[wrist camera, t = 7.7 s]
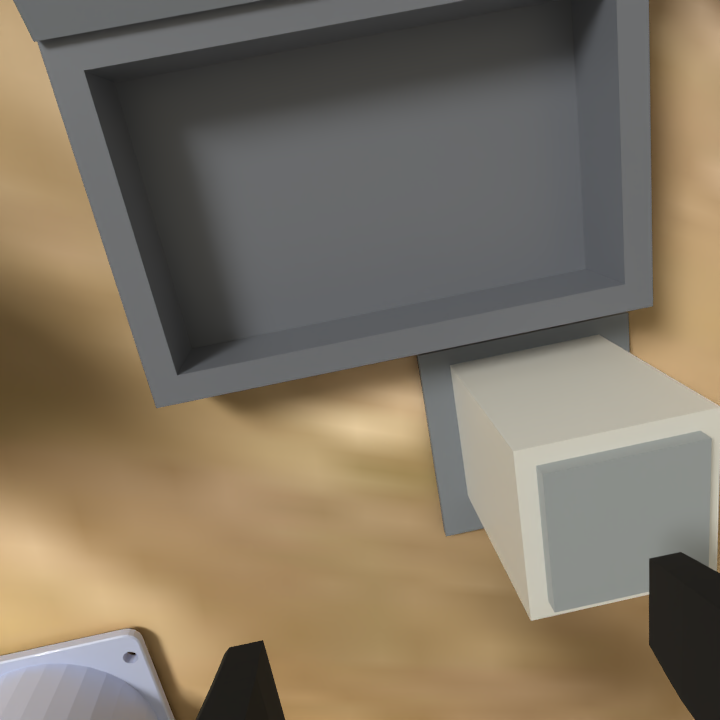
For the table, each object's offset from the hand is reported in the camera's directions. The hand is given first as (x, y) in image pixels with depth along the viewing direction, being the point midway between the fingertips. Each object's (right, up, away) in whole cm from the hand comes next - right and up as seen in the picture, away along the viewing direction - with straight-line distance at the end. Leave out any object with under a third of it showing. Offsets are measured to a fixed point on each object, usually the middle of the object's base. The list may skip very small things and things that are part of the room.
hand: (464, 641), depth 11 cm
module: (+4, +3, +9) cm, 11 cm away
